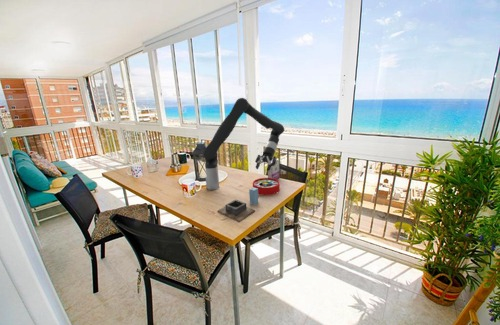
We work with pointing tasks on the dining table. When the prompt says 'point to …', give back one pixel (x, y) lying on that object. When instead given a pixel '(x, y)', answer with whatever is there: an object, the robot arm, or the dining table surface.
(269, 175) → the candy bar box
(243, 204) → the cradle jig
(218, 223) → the dining table surface
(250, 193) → the light blue square peg
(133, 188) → the dining table surface
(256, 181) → the toy clock
